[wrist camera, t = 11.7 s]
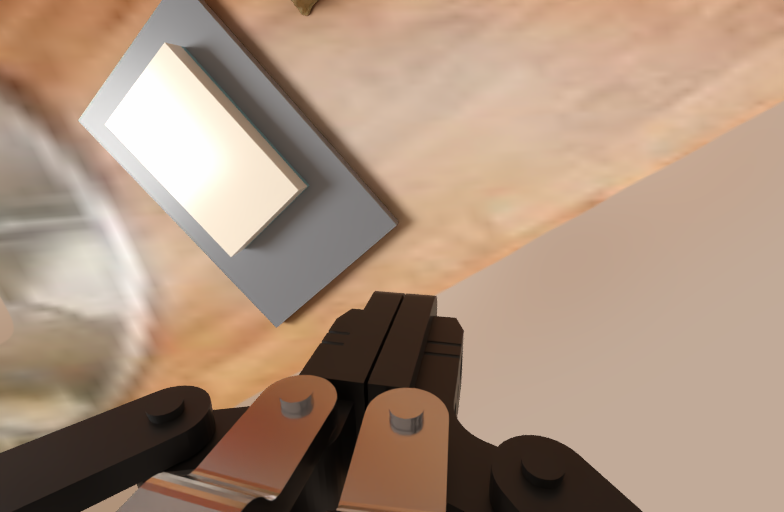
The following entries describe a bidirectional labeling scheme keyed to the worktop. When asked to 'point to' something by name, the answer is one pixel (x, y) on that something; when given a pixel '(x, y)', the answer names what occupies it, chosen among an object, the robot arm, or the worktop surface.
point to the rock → (304, 5)
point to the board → (287, 134)
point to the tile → (205, 149)
